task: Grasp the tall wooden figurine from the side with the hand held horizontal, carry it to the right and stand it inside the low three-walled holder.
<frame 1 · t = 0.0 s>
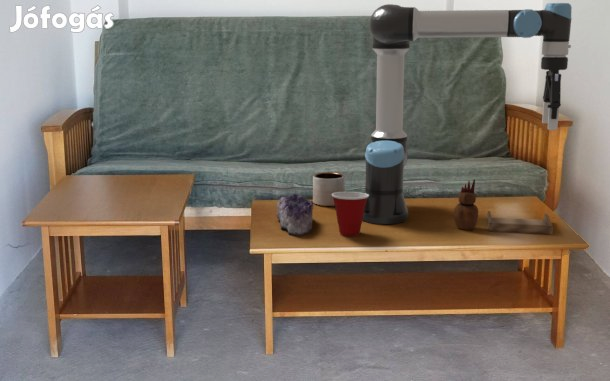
hand: (549, 126, 214), 28 cm above the table, fingers open, 13 cm apart
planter: (328, 203, 236), on the table
wooden figurine: (465, 229, 206), on the table
geode: (297, 227, 210), on the table
holder: (518, 226, 208), on the table
plastic cup: (349, 233, 203), on the table
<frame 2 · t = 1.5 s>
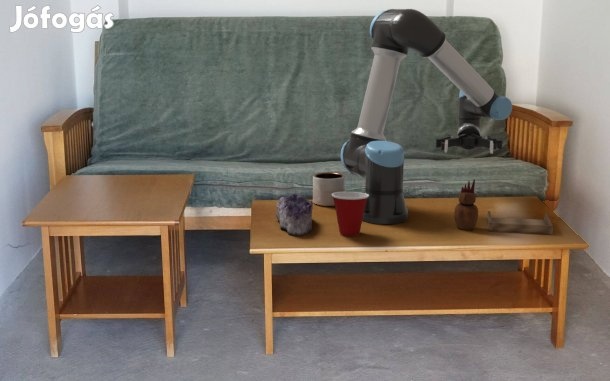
hand: (468, 148, 211), 22 cm above the table, fingers open, 13 cm apart
nothing on the table moved.
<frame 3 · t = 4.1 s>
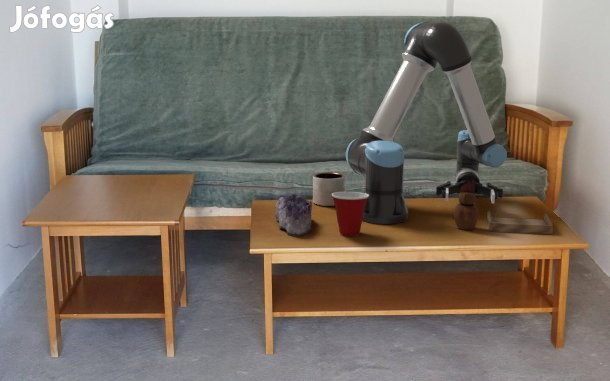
hand: (470, 198, 209), 8 cm above the table, fingers open, 13 cm apart
nothing on the table moved.
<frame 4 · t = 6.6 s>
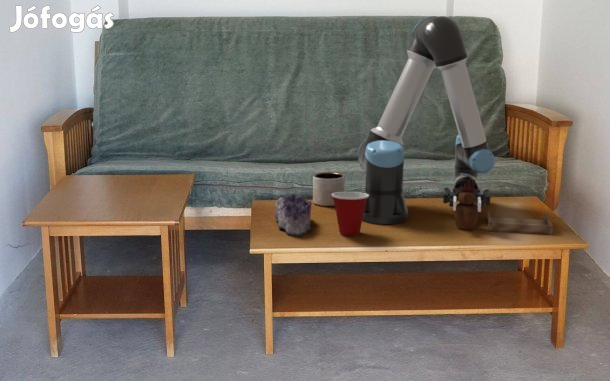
hand: (467, 206, 200), 8 cm above the table, fingers closed on wooden figurine, 6 cm apart
wooden figurine: (465, 229, 206), on the table, touching gripper
everything else where it was.
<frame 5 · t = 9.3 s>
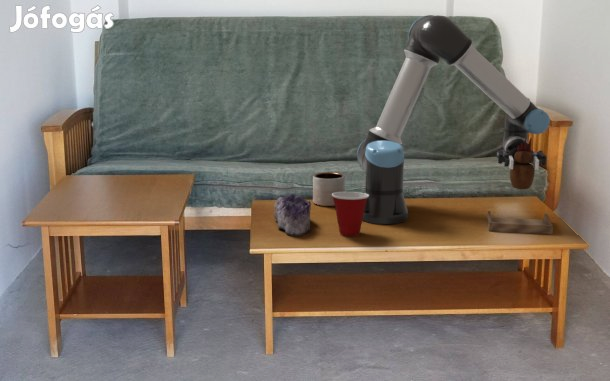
hand: (524, 165, 198), 20 cm above the table, fingers closed on wooden figurine, 6 cm apart
wooden figurine: (521, 188, 205), point 12 cm above the table, touching gripper
everything else where it was.
when the fingers open (9 cm above the table, at t = 12.0 s): wooden figurine stays where it is, resting on holder.
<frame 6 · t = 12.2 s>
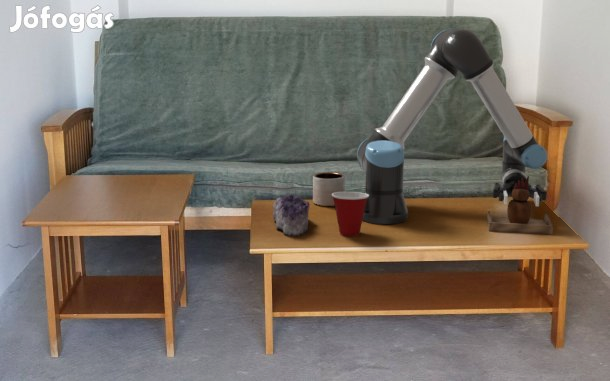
hand: (521, 201, 201), 9 cm above the table, fingers open, 8 cm apart
wooden figurine: (518, 225, 208), resting on holder
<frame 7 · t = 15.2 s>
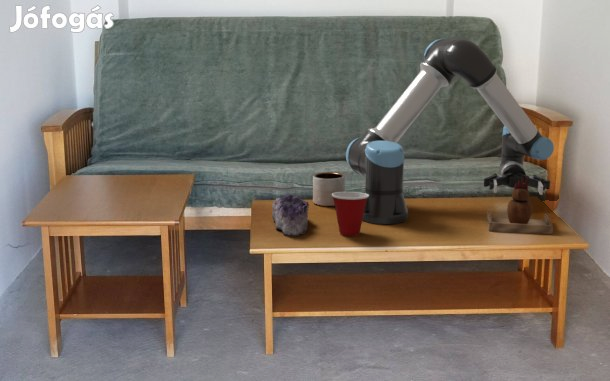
hand: (518, 189, 214), 9 cm above the table, fingers open, 13 cm apart
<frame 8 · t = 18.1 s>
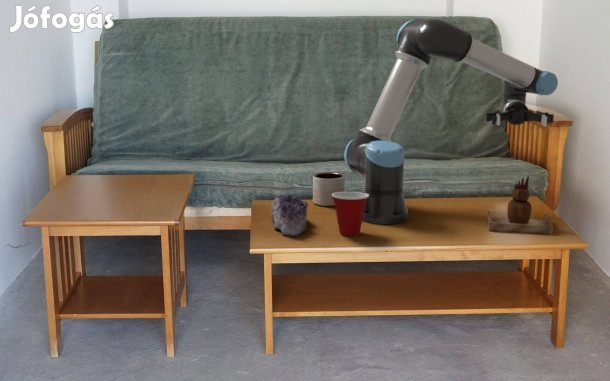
hand: (521, 121, 211), 30 cm above the table, fingers open, 13 cm apart
at the end: wooden figurine inside the target area on the holder (0.0 cm from its centre), point 0.3 cm above the holder's base; wooden figurine tilted 0°; the gripper is holding nothing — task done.
